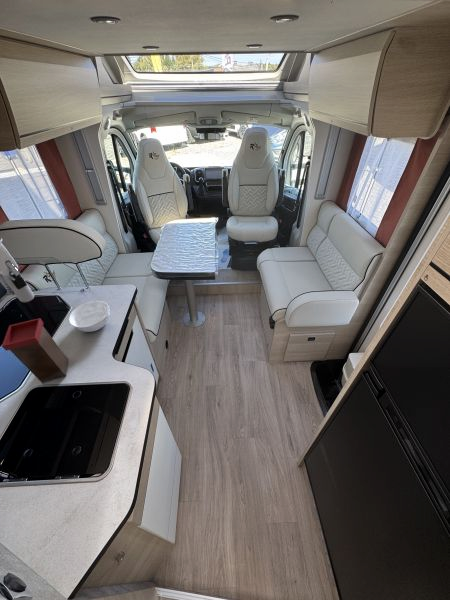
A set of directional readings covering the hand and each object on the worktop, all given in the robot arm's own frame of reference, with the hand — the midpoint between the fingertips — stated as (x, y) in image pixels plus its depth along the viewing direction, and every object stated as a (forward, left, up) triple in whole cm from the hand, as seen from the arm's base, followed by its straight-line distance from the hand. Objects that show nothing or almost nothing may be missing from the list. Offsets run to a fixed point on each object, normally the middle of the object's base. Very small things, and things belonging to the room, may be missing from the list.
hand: (17, 284), depth 91 cm
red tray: (-2, -11, -15) cm, 19 cm away
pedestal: (-2, -11, -38) cm, 40 cm away
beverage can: (0, 0, -7) cm, 7 cm away
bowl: (+13, +12, -38) cm, 42 cm away
